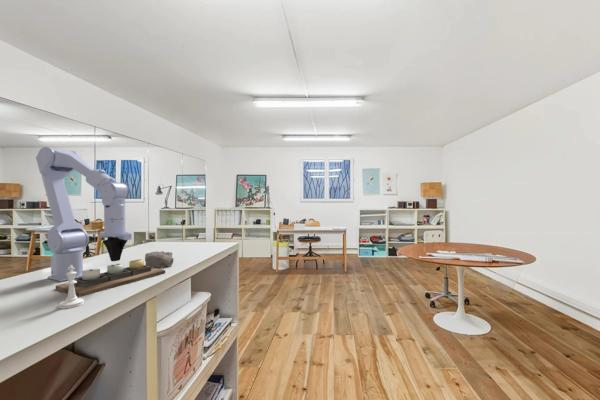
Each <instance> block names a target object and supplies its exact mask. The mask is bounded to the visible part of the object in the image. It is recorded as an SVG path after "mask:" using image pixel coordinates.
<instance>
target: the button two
mask: <svg viewBox="0 0 600 400" xmlns="http://www.w3.org/2000/svg"><path fill="white" fill-rule="evenodd" d="M123 268H124V263H113V264H110V265H109V264H108V265H107V267H106V269H107V270H106V272H107V274H110V275H112V274H119V273H122V272H124V269H123Z"/></svg>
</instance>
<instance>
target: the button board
mask: <svg viewBox="0 0 600 400" xmlns="http://www.w3.org/2000/svg"><path fill="white" fill-rule="evenodd" d="M123 269H124V272H122V273H119V274H112V275H110V274H107V271H105V272H100V278H98V279H94V280H82V277H79V278H75V279H74V281H77V283H74V288H75V294H76V297H82V296H86V295H90V294H94V293H98V292H102V291H104V290H110V289H113V288H116V287H120V286H123V285H126V284H131V283H134V282H138V281H141V280H146V279H150V278H153V277H156V276H159V275H163V274H166V269H160V268H156V267H151V266H146V265H145V264H144V267H143V268H140V269H129V266H127V267H123ZM55 290H58V291H61V292H64V293H67V294H68V291H69V284H66V283H61V284H57V285H55Z"/></svg>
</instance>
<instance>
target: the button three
mask: <svg viewBox="0 0 600 400" xmlns="http://www.w3.org/2000/svg"><path fill="white" fill-rule="evenodd" d="M128 263H129V264H128V265H129V266H128V267H129V269H140V268H143V267H144V265H145V259H140V258H139V259H133V260H130V261H128Z"/></svg>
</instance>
